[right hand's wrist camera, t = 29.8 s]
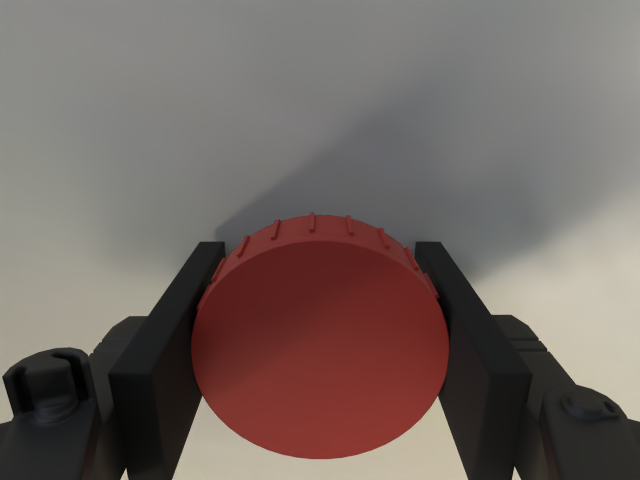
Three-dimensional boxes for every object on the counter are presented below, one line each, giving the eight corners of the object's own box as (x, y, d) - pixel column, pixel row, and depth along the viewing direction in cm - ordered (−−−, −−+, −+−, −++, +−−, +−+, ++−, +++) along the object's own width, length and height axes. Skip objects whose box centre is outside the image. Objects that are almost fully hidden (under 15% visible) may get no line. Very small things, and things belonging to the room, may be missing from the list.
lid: (222, 418, 13) (208, 467, 12) (188, 218, 11) (165, 244, 9) (431, 408, 13) (447, 456, 11) (438, 204, 11) (459, 227, 9)
